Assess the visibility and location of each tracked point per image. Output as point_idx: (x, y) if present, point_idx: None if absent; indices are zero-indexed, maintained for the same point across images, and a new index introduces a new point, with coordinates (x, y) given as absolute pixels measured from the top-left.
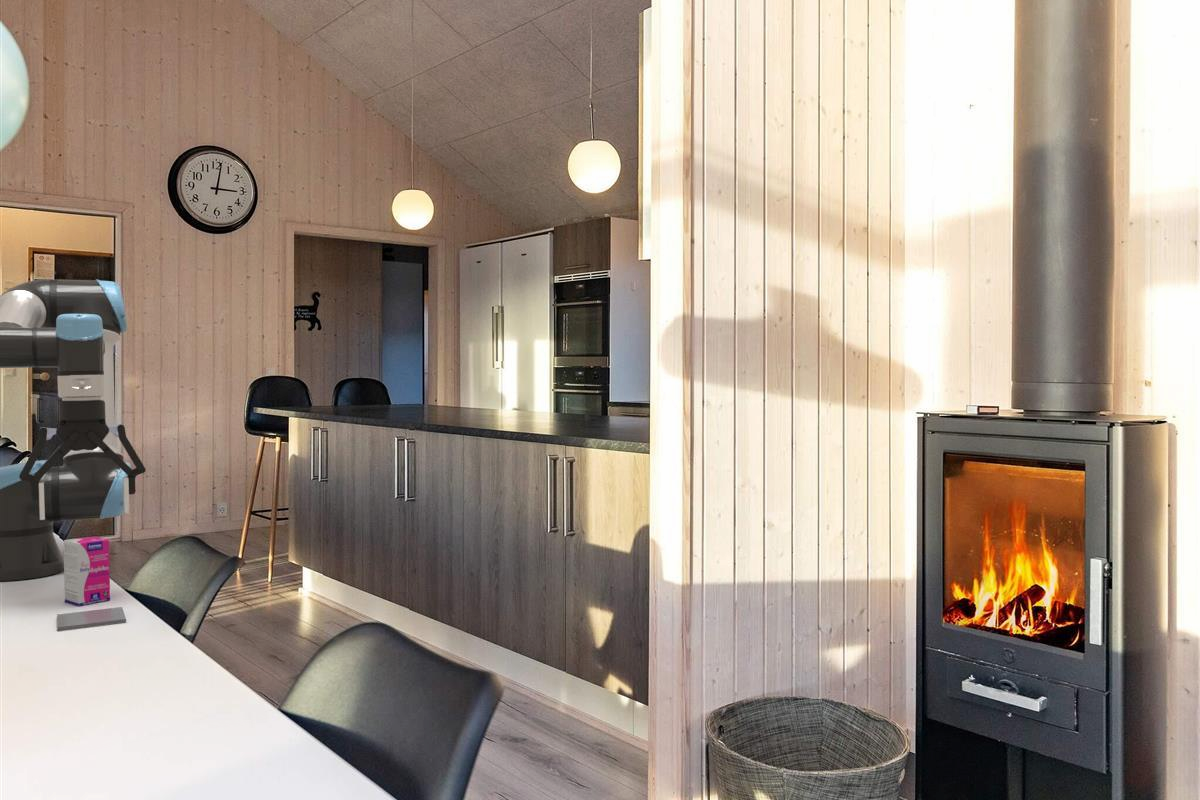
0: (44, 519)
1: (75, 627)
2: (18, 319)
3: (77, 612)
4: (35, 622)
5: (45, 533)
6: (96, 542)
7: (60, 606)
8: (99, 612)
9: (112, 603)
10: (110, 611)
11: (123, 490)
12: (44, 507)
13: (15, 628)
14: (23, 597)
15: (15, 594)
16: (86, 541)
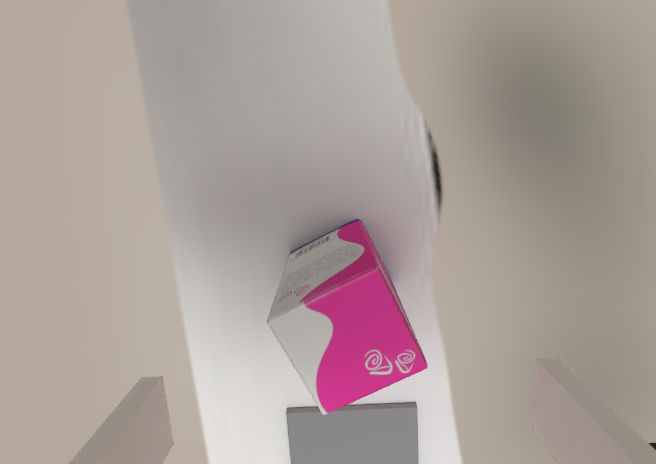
0: (172, 445)
1: None
2: None
3: (326, 415)
4: (248, 424)
5: None
6: (382, 387)
7: None
8: (370, 437)
9: None
10: (392, 439)
11: (612, 457)
12: (138, 418)
13: (218, 455)
14: (181, 128)
15: (153, 71)
16: (348, 384)
